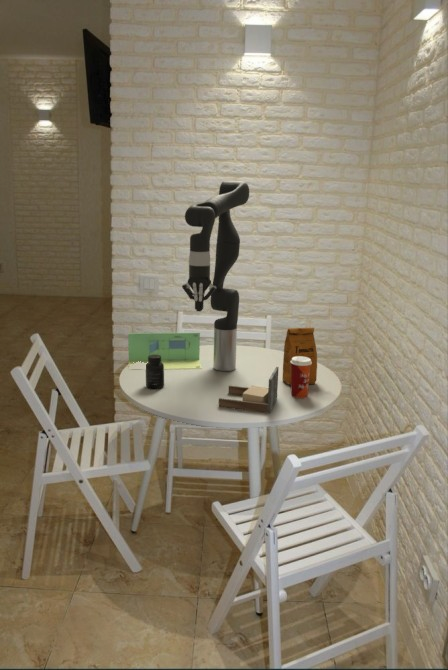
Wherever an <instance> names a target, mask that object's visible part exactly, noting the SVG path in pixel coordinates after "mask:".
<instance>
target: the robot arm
mask: <svg viewBox="0 0 448 670" xmlns="http://www.w3.org/2000/svg"><path fill="white" fill-rule="evenodd" d="M249 187H250V186H249V184H248V183H247V182H245V181H242V180H224V181H221V183H220V186H219V190H218V194H217V195H214V196H211V197H210V198H208V199H206V200H205V201H204V202H199V203H196V204H192V205H190V206H189V207H188V208H187V209H186V210H185V214H184V220H185V223H186V224H187V225H188V226H190V227H197V228H201V230H200V231H199V232H198V233H193V234H191V235H190V236H189V256H188V279H187V282H186V283H184V284H183V285H182V286H181V287H182V289H183V290H184V293H186V295H187V296H188V298H189V300H194V310H196V312H201V311H202V310H203V309H204V303H205V302H204V301H206V300H208V299H210V307H211V309H212V310H213V311H219V312H226V316H225V317H221V318H216V319H215V320H214V322H213V323H214V324H213V327H214V328H213V364H212V367H213V369H214V370H216V371H220V372H231V371H234V370H236V365H237V339H238V338H237V337H238V336H237V334H238V333H237V331H238V330H237V329H238V321H239V307H240V294H239V293H240V292H239V291H238V290H237V289H233V288H228V287H227V288H226V287H224V285H225V280H226V277H227V275H228V273H229V272H230V270H231V269H232V268H233V266H234V265H235V263H236V262H237V260H238V258H239V255H240V246H241V245H240V244H241V237H240V236H239V233H238V231H237V229H236V227H235V225H234V222H233V220H232V218H231V211H230V210H231V209H234V208H238V207H240V206H243V205H245V204H246V203H247V202H248V201H249V197H250V188H249ZM216 218H218V223H217V224H218V225H217V227H218V228H217V237H216V244H215V245H216V247H215V264H214V273H213V280H211V254H210V253H211V250H210V248H211V237H212V233H213V228H214V225H215V222H216ZM207 289H208V290H209V291H208V292H207V293H206V291H207Z"/></svg>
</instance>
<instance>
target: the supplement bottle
mask: <svg viewBox="0 0 448 670" xmlns="http://www.w3.org/2000/svg"><path fill="white" fill-rule="evenodd" d="M145 387H146V388H147V389H149V390H152V391H153V390H155V391H156V390H157V391H158V390H160V389H162V388H164V387H165V369H164V365H163V363H162V362H161V356H160V355H149V356H148V363H147V364H146V370H145Z"/></svg>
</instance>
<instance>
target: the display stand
mask: <svg viewBox="0 0 448 670" xmlns="http://www.w3.org/2000/svg"><path fill="white" fill-rule="evenodd" d="M127 334H128V335H127V336H128V337H127V338H128V343H127V344H128V365H127V367H128V366H129V365H130V364H134V363H136V362H138V361H139V362H140V361H141V363H142V362H144V363H147V362H148V356H149V355H160V356H161V362H162V363H163V365H164V370H202V368H203V367H202V365H201V361H200V351H201V350H200V349H201V348H200V345H201V344H200V341H201V340H200V335H201V332H139V333H138V332H136V333H135V332H131V333H130V332H129V333H127ZM133 362H134V363H133Z"/></svg>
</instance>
